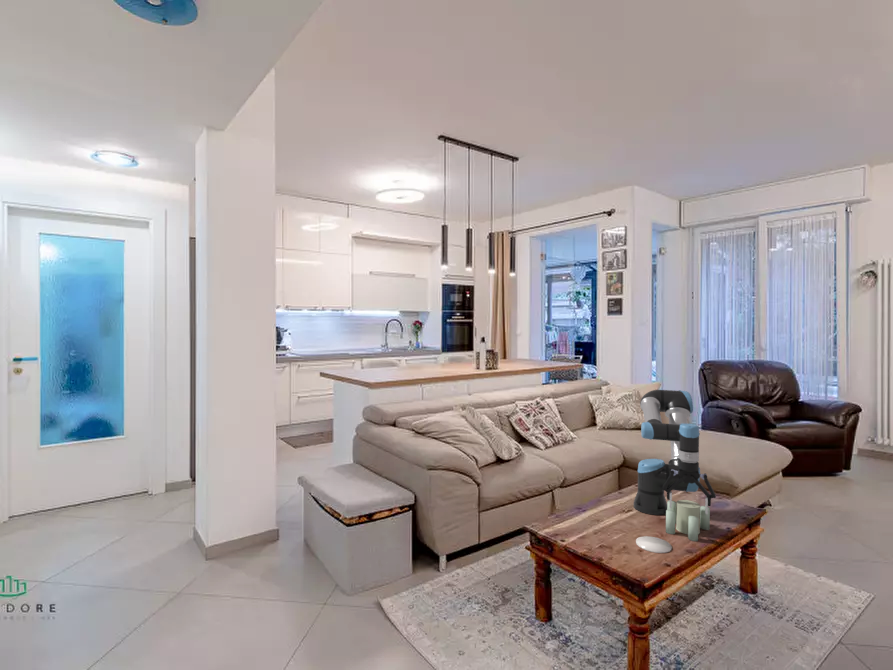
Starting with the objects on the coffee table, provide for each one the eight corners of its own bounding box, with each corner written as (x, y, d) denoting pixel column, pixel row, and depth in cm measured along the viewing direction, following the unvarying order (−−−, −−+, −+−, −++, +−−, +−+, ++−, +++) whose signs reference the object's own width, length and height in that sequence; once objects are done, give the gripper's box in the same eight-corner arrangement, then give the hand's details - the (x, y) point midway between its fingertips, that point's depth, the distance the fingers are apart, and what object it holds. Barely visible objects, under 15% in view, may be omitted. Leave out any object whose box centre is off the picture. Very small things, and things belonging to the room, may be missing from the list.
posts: (665, 535, 195) (665, 514, 194) (667, 517, 213) (667, 498, 213) (710, 544, 187) (711, 522, 187) (709, 525, 205) (709, 504, 205)
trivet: (634, 548, 183) (634, 546, 183) (637, 535, 195) (637, 533, 195) (670, 555, 177) (670, 554, 177) (672, 542, 189) (672, 540, 189)
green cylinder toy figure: (690, 536, 194) (691, 508, 193) (671, 528, 202) (671, 500, 202) (704, 532, 198) (705, 504, 198) (684, 524, 206) (685, 497, 206)
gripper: (656, 458, 202) (655, 507, 202) (723, 467, 190) (722, 519, 190) (657, 454, 208) (656, 502, 209) (722, 462, 197) (721, 512, 197)
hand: (688, 510), depth 199 cm, fingers open, 13 cm apart
